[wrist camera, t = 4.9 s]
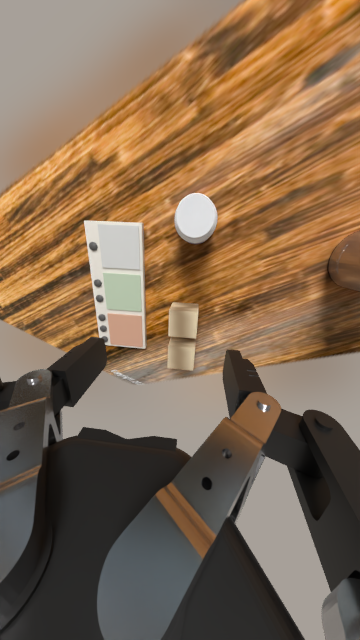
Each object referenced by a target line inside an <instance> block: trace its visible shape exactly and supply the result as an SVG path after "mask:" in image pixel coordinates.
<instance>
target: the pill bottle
mask: <svg viewBox="0 0 360 640" xmlns="http://www.w3.org/2000/svg"><path fill="white" fill-rule="evenodd" d="M216 225H217V211H216V208H215V206H214V204H213V202H212V201H211V200H210V199H209V198H208V197H207V196H205V195H203V194H200V193H193V194H190V195H187V196H186V197H185V198H183V199H182V200H181V202H180V203H179V205H178V207H177V210H176V213H175V227H176V230H177V232H178V234H179V235H180V237H181V238H182V239H184V240H185V241H187V242H188V243H191V244H200V243H203V242H205V241H206V240H207V239H208V238H209V237H210V236H211V235H212V234H213V232H214V230H215V228H216Z"/></svg>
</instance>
